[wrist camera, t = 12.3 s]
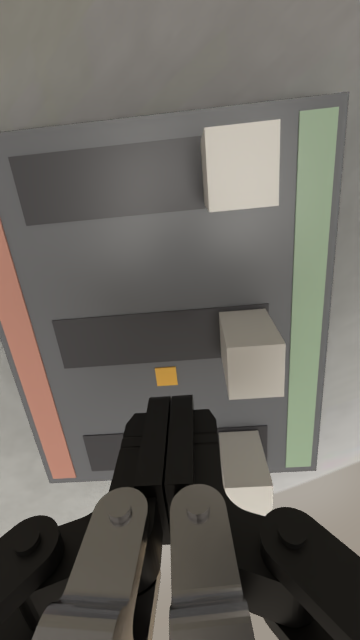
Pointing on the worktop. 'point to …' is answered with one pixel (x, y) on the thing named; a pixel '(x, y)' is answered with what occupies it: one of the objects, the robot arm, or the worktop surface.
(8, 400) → the worktop surface
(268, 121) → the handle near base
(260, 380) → the handle
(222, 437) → the handle outer
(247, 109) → the breaker panel
